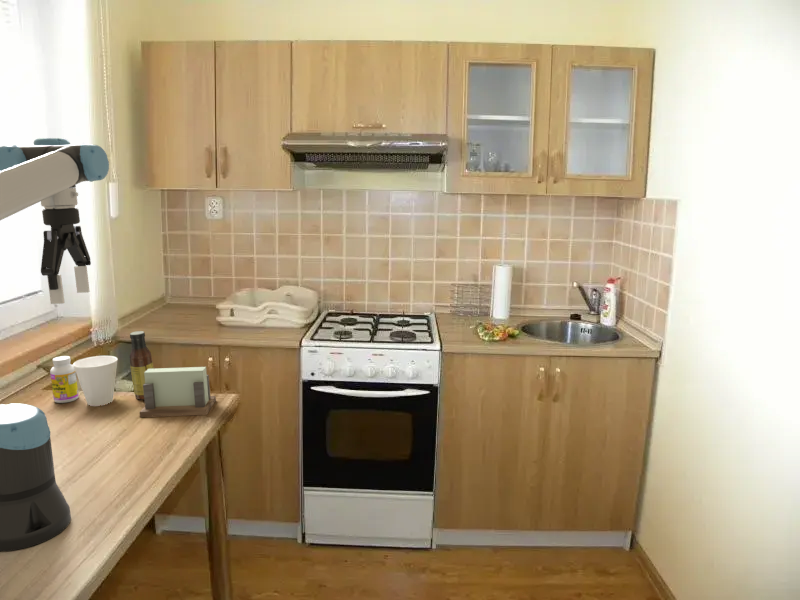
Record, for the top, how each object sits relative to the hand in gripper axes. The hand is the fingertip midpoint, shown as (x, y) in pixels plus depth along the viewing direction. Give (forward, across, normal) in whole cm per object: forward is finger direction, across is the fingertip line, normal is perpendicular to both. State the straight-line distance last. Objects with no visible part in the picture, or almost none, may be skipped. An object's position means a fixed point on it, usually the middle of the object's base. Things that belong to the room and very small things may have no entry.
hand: (71, 297), depth 155 cm
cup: (+37, +30, +9) cm, 48 cm away
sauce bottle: (+37, +33, -3) cm, 50 cm away
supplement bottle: (+37, +33, +20) cm, 53 cm away
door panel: (+35, +22, -16) cm, 44 cm away
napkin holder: (+37, +22, -16) cm, 46 cm away
